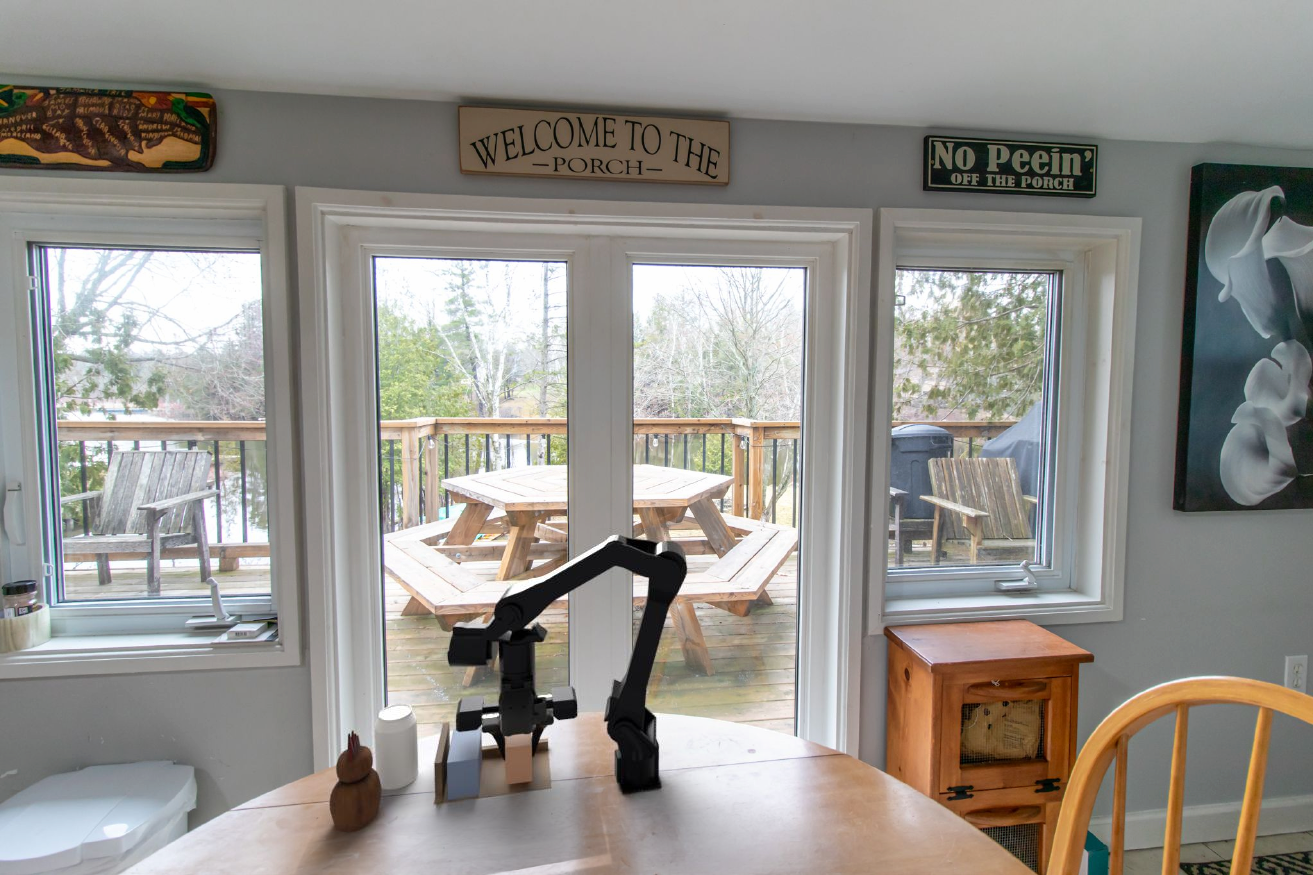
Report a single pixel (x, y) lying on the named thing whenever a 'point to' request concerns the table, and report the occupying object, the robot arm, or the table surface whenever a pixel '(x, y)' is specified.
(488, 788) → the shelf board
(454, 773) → the pale blue box
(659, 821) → the table surface
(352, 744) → the wooden figurine
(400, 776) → the beverage can
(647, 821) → the table surface
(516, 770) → the light orange box
